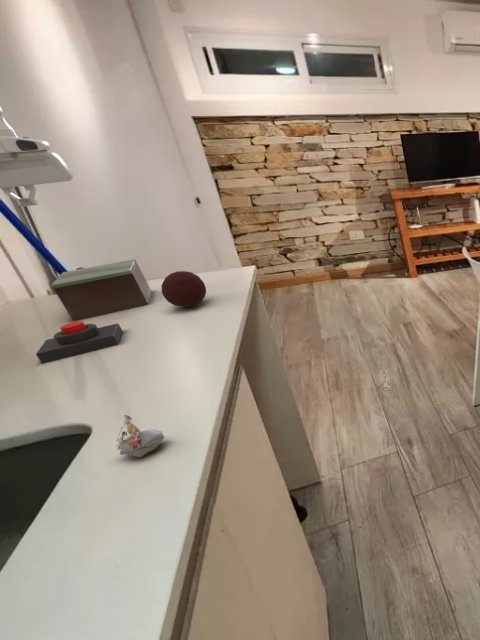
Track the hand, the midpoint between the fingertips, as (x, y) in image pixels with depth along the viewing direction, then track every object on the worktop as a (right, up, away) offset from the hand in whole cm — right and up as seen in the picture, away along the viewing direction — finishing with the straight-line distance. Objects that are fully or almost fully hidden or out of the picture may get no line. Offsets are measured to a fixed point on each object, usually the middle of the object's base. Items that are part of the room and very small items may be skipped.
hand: (29, 205), depth 117 cm
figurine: (+75, -49, -49) cm, 102 cm away
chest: (+10, -24, +12) cm, 28 cm away
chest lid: (+9, -16, +7) cm, 20 cm away
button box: (+28, -34, -13) cm, 46 cm away
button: (+27, -31, -14) cm, 44 cm away
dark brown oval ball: (+35, -24, +7) cm, 43 cm away
